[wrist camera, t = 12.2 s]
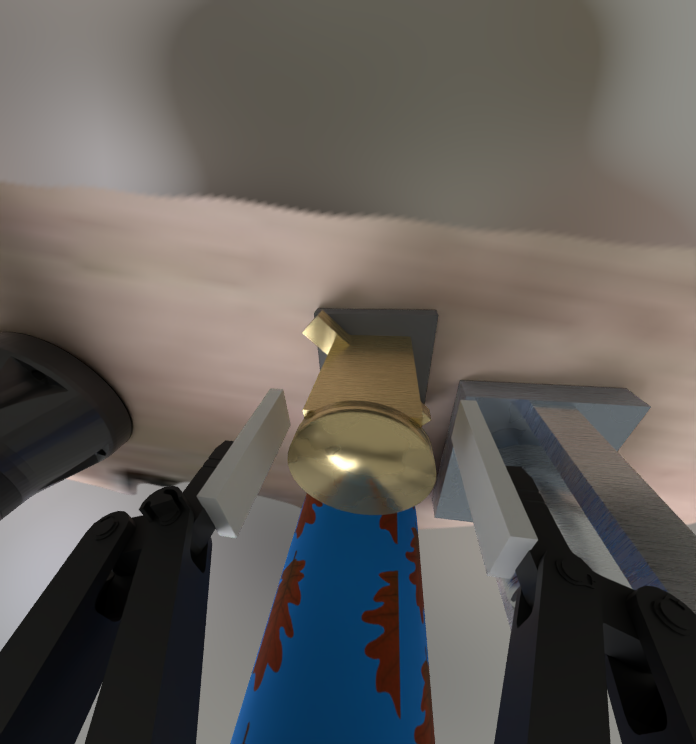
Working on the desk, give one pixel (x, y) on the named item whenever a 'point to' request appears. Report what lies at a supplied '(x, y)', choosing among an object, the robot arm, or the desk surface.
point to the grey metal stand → (579, 481)
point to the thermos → (344, 637)
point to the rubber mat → (392, 332)
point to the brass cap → (363, 425)
